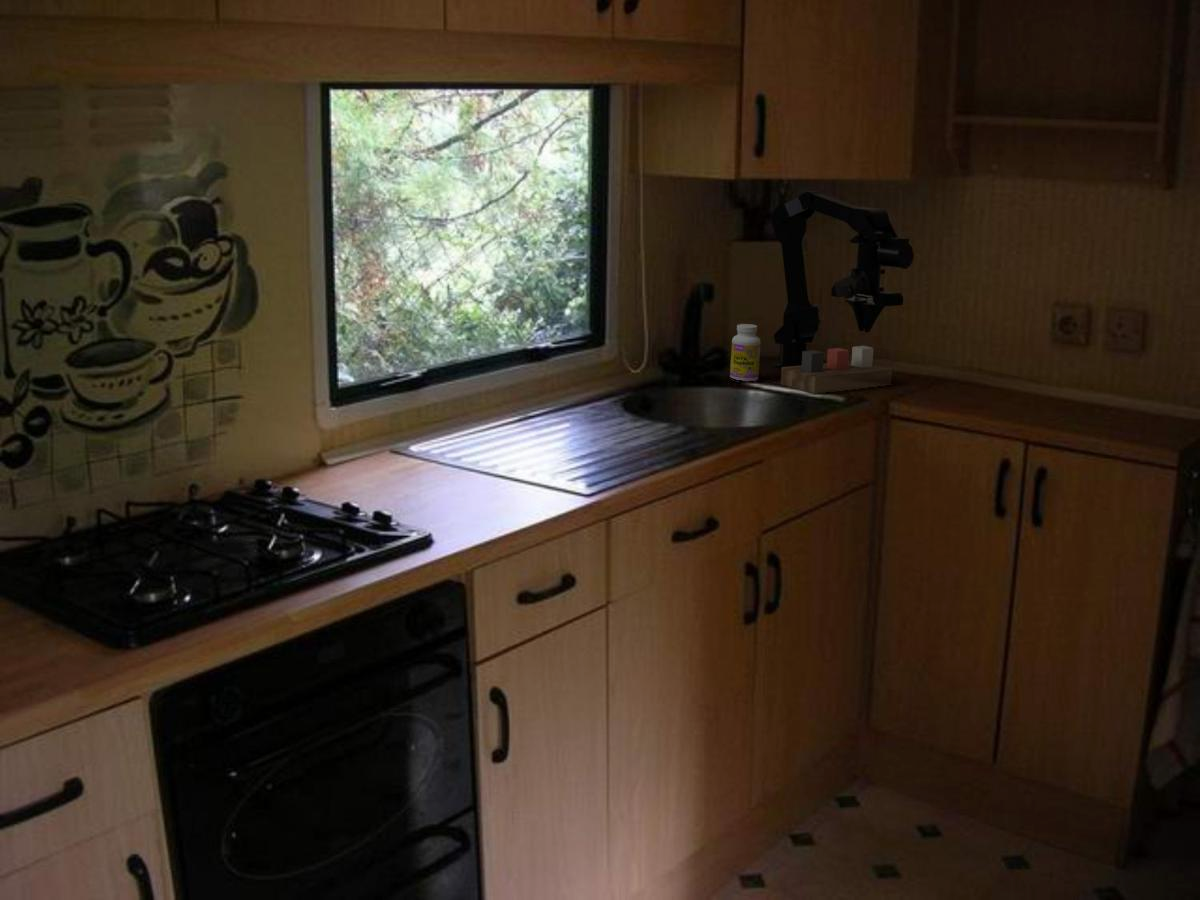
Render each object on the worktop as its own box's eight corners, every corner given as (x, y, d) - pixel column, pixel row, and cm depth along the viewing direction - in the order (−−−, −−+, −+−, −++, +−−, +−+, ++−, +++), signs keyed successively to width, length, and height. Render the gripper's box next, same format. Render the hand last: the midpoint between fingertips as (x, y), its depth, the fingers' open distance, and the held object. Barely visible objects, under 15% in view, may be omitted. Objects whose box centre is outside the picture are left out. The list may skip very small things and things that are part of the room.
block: (780, 384, 315) (781, 367, 314) (856, 376, 327) (857, 359, 326) (814, 394, 306) (815, 376, 305) (891, 385, 317) (892, 368, 316)
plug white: (851, 367, 320) (852, 346, 319) (862, 366, 322) (863, 345, 320) (860, 370, 317) (862, 349, 316) (871, 369, 319) (873, 348, 317)
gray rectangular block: (801, 372, 312) (802, 351, 311) (812, 371, 314) (814, 350, 313) (810, 375, 309) (812, 353, 308) (822, 374, 311) (823, 352, 310)
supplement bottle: (727, 381, 318) (729, 326, 314) (732, 376, 324) (735, 322, 321) (755, 383, 316) (758, 328, 313) (760, 378, 322) (763, 324, 319)
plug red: (826, 370, 316) (827, 348, 315) (837, 369, 318) (839, 347, 316) (836, 372, 313) (837, 351, 312) (847, 371, 315) (848, 350, 314)
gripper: (815, 261, 317) (811, 327, 321) (870, 270, 301) (865, 340, 305) (851, 259, 322) (847, 324, 326) (907, 268, 307) (902, 337, 311)
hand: (864, 331), depth 317 cm, fingers closed
